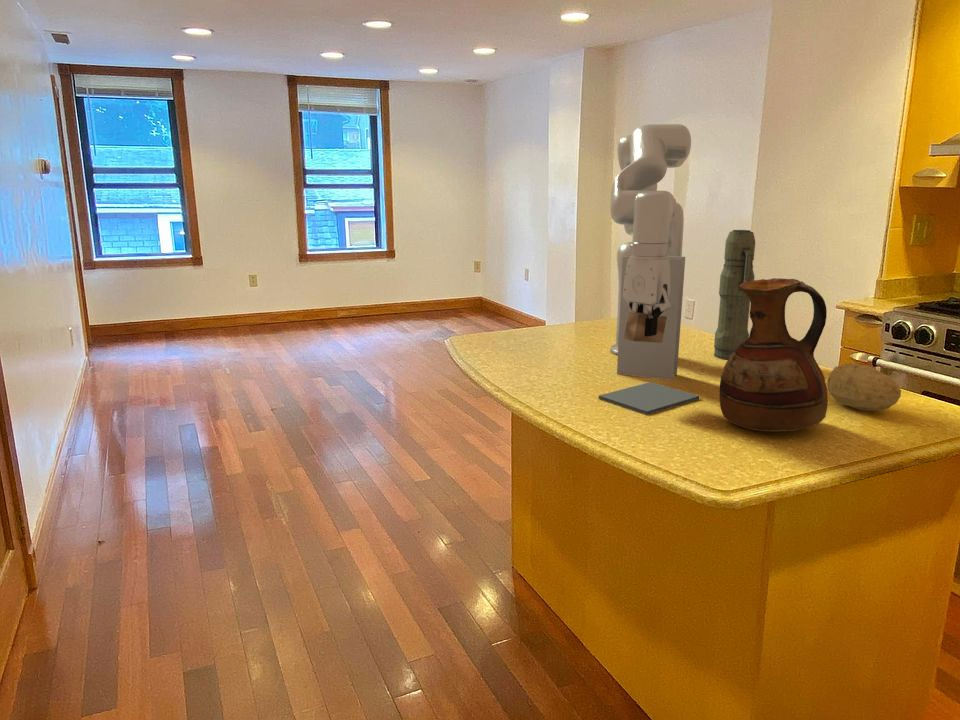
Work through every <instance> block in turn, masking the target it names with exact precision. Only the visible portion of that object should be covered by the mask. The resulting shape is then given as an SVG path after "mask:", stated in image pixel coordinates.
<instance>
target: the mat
mask: <svg viewBox="0 0 960 720" xmlns="http://www.w3.org/2000/svg"><path fill="white" fill-rule="evenodd" d="M598 400H601V401H604V402H607V403H610V404H613V405H614V406H615V405H616V406H618V407H622V408H625V409H628V410H631V411H634V412H636V413H640V414H642V415H645V416H648V415H652V414H655V413H658V412H661V411H665V410H669V409H671V408H676V407H679V406H682V405H684V404H688V403H691V402H694V401H698V400H700V395H698V394H694V393H691V392H688V391H684V390H681V389H676V388H673V387H669V386H666V385H663V384H659V383H656V382H653V381H649V382H646V383H641V384H637V385H634V386H630V387H627V388H622V389H619V390H614V391H611V392H607V393H603V394H600V395H598Z"/></svg>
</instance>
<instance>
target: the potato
mask: <svg viewBox="0 0 960 720" xmlns="http://www.w3.org/2000/svg"><path fill="white" fill-rule="evenodd" d="M826 387H827V393H829V394H830V395H831V396H832V398H833V399H834V400H835V401H836V402H838V403H840V404H842V405H845V406H848V407H851V408H853V409H855V410H859V411H864V412H865V411H866V412H867V411H875V412H876V411H877V412H878V411H883V410H887V409H890V408H891V407H892V406H894V405H896V404H897V403H898V401H899V400H900V398H901V396H902V389H901V387H900V385H899V384H898V382H897V381H896V380H895V379H893V378H892V377H890V376H889V375H887V374H886V373H884V372H881V371H879V370H877V368H874V367H873V366H871V365H864V364H859V363H843V364H840V365H838V366H837V365H836V366H835V367H834V368H833V369H832V370H831V372H830V373H829V376H828V379H827V381H826Z"/></svg>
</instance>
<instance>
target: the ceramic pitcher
mask: <svg viewBox="0 0 960 720" xmlns="http://www.w3.org/2000/svg"><path fill="white" fill-rule="evenodd" d="M739 288H740V289H741V290H742V291H743V292H744V293H745V294H746V295H747V296H748V298H749V299H750V309H749V317H750V321H751V324H752V325H751V328H750V332H749V338H748V339H747V340H746V341H745V342H743V343H742V344H740V345H739V346H738V348H737V349H736V350H735V351H734V352H733V353H732V354H731V356H730V357H729V359H728V360H726V362H725V364H724V366H723V370H722V374H721V376H720V381H719V391H718V392H719V393H718V395H719V397H718V398H719V405H720V406H719V407H720V410H721V413H722V416H723V418H724V419H726V420H727V421H728V422H730V423H732V424H734V425H736V426H738V427H741V428H745V429H749V430H752V431H753V430H754V431H759V432H795V431H800V430H802V429H803V430H804V429H807V428H809V427H812V426H816V425H818V424H819V423H821V422H822V421H823V420H824V419H825V418H826V416H827V410H828V404H829V397H828V396H829V395H828V393H829V392H828V387H827V381H826V379H825V376H824V373H823V371H822V369H821V367H820V365H819V364H818V363H817V361H816V359H815V356H814V355H815V350H816V347H817V345H818V343H819V340H820V338H821V336H822V334H823V331H824V328H825V326H826V322H827V313H828V312H827V304H826V301H825V299H824V297H822V295H821V294H820V293H819V292H818V290H816V288H814V287H813V286H810V285H808V284H806V283H805V282H804V281H802V280H799V279H796V278H769V279H765V278H763V279H762V278H761V279H754V280H752V281H748V282H743V283H741V284H740V285H739ZM799 292H800V293H802V292H803V293H806V294H808V295H809V296H810V297H811V301H812V304H813V305H812V306H813V317H812V321H811V324H810V326H809V328H808V330H807V332H806V333H805V336H804V337H803V338H802V339H801V340H799V339H796V338H794V337H792V336H791V335H790V333H789V331H788V328H787V324H786V305H787V301H788V298H789V297H790V296H791V295H792V294H794V293H799Z"/></svg>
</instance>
